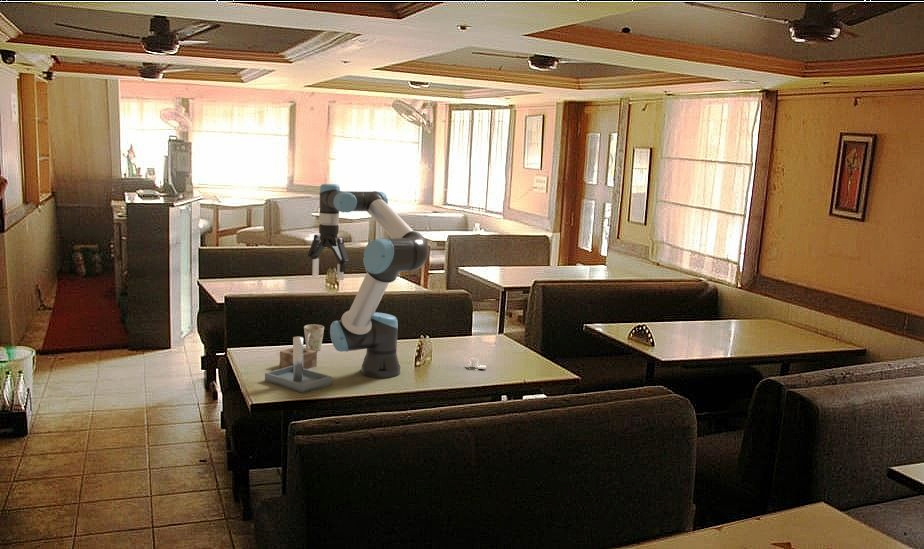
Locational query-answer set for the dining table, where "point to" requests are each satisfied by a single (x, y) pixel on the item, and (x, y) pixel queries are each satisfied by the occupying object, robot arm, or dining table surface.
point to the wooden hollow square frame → (308, 358)
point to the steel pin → (298, 359)
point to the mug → (313, 336)
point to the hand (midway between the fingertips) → (327, 277)
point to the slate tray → (309, 382)
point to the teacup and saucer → (476, 363)
